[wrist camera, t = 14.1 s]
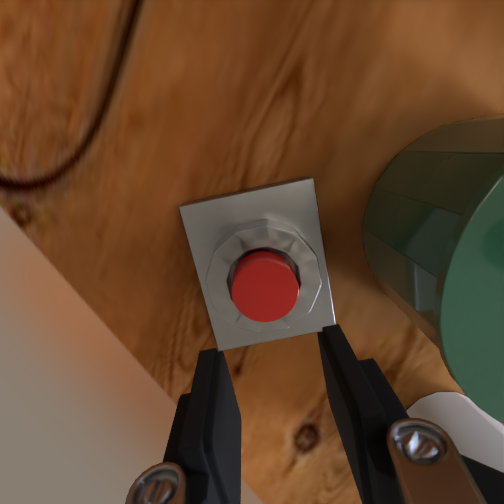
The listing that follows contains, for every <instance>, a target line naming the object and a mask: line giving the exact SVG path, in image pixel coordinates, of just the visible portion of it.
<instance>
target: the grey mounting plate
mask: <svg viewBox="0 0 504 504" xmlns="http://www.w3.org/2000/svg"><path fill="white" fill-rule="evenodd" d="M179 210H180V213H181V217H182V220H183V224H184V228H185V231H186V235H187V238H188V242H189V246H190V249H191V253H192V256H193V260H194V263H195V267H196V271H197V274H198V278H199V281H200V285H201V289H202V292H203V296H204V299H205V303H206V306H207V310H208V314H209V317H210V321H211V324H212V328H213V332H214V335H215V339H216V342H217V346H218V349H219V351H222V350H227V349H232V348H237V347H243V346H248V345H253V344H258V343H263V342H268V341H273V340H278V339H283V338H289V337H294V336H299V335H304V334H309V333H314V332H319V331H322V327H325V326H330V325H335V324H336V323H335V316H334V310H333V303H332V297H331V290H330V284H329V277H328V271H327V264H326V257H325V251H324V244H323V238H322V231H321V225H320V218H319V212H318V205H317V199H316V192H315V185H314V179H313V178H312V177H309V176H308V177H304V178H299V179H294V180H290V181H285V182H280V183H276V184H271V185H267V186H262V187H257V188H253V189H248V190H243V191H239V192H234V193H229V194H225V195H220V196H216V197H211V198H206V199H202V200H197V201H192V202H188V203H183V204H182V205H181V206H180V207H179ZM259 251H270V252H274V253H277V254H279V255H281V256H282V257H284V258H285V259H286V260H287V261H288V262H289V263H290V265H291V267H292V269H293V271H294V274H295V276H296V279H297V282H298V285H299V295H298V299H297V302H296V304H295V306H294V307H293V309H292V310H291V311H290V312H289V313H288V314H287V315H286V316H284V317H282V318H281V319H278V320H276V321H272V322H258V321H254V320H251V319H249V318H247V317H245V316H244V315H243V314H242V313H240V311H239V310H238V309H237V308H236V306H235V304H234V302H233V299H232V281H233V274H234V271H235V268H236V267H237V265H238V264H239V262H240V261H241V260H242V259H243V258H245V257H246V256H248V255H249V254H252V253H254V252H259Z"/></svg>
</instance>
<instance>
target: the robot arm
mask: <svg viewBox="0 0 504 504" xmlns="http://www.w3.org/2000/svg"><path fill="white" fill-rule="evenodd" d="M317 336H318V342H319V347H320V353H321V359H322V365H323V370H324V376H325V382H326V388H327V394H328V399H329V403H330V406H331V410H332V413H333V416H334V419H335V422H336V425H337V428H338V431H339V434H340V437H341V440H342V443H343V446H344V449H345V452H346V455H347V458H348V461H349V464H350V467H351V470H352V473H353V476H354V479H355V482H356V485H357V488H358V491H359V494H360V497H361V500H362V503H363V504H504V473H503V472H501V471H499V470H496V469H494V468H492V467H489V466H487V465H485V464H482V463H480V462H478V461H475V460H473V459H471V458H468V457H466V456H464V455H461V454H460V453H459V451H458V449H457V448H456V446H455V444H454V442H453V440H452V439H451V437H450V436H449V435H448V433H447V432H446V431H445V430H443V429H442V428H441V427H440V426H438V425H437V424H434V423H432V422H430V421H428V420H424V419H420V418H410V417H409V415H408V414H407V412H406V410H405V409H404V407H403V406H402V404H401V402H400V401H399V399H398V397H397V396H396V394H395V392H394V391H393V389H392V387H391V386H390V384H389V383H388V381H387V379H386V378H385V376H384V374H383V373H382V371H381V369H380V368H379V366H378V365H377V363H376V361H375V360H374V359H373V358H371V359H366V360H360V361H358V360H357V358H356V356H355V354H354V352H353V350H352V348H351V346H350V344H349V343H348V341H347V339H346V337H345V335H344V333H343V331H342V329H341V328H340V326H339V324H335V325H330V326H325V327H322V332H317ZM240 495H241V415H240V411H239V407H238V403H237V400H236V396H235V392H234V389H233V385H232V382H231V378H230V374H229V371H228V367H227V363H226V360H225V356H224V353H223V351H220V352H218V351H217V349H216V348H213V349H208V350H203V351H200V353H199V357H198V361H197V366H196V370H195V375H194V379H193V384H192V388H191V393H187V394H182V395H181V396H180V398H179V401H178V405H177V409H176V413H175V417H174V421H173V425H172V428H171V432H170V436H169V440H168V443H167V447H166V451H165V455H164V459H163V462H162V463H159V464H157V465H155V466H152V467H150V468H149V469H147V470H146V471H144V472H143V473H142V474H141V475H140V476H139V477H138V478H137V479H136V480H135V482H134V483H133V485H132V486H131V488H130V490H129V492H128V495H127V498H126V502H125V504H240V499H241V496H240Z"/></svg>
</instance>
